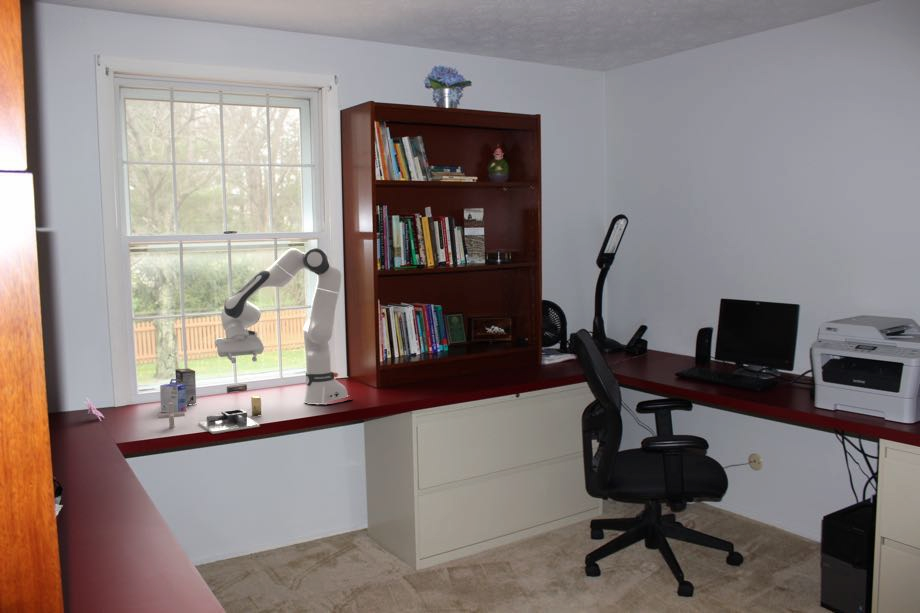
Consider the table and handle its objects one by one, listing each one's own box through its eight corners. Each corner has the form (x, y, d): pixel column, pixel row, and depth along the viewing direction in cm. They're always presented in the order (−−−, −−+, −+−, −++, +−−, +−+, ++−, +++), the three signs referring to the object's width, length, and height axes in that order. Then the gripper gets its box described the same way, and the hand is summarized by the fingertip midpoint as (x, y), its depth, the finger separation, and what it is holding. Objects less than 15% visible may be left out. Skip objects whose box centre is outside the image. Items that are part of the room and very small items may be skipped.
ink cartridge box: (187, 411, 330) (185, 379, 328) (178, 413, 324) (177, 381, 323) (169, 409, 333) (167, 378, 332) (160, 412, 328) (158, 380, 326)
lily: (89, 427, 306) (101, 406, 308) (66, 416, 307) (77, 394, 309) (104, 429, 317) (115, 409, 319) (81, 418, 319) (92, 397, 321)
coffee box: (176, 403, 346) (174, 369, 345) (190, 401, 350) (188, 367, 349) (182, 406, 339) (181, 372, 337) (196, 404, 343) (195, 370, 341)
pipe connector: (184, 423, 307) (183, 399, 306) (185, 428, 298) (184, 404, 297) (158, 425, 303) (157, 401, 302) (158, 431, 294) (157, 406, 293)
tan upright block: (259, 414, 322) (258, 396, 322) (262, 415, 319) (262, 397, 319) (250, 415, 320) (249, 397, 319) (253, 417, 317) (253, 398, 316)
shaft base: (243, 417, 315) (243, 407, 315) (259, 426, 300) (259, 415, 300) (198, 424, 304) (198, 413, 304) (212, 433, 289) (211, 422, 289)
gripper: (215, 334, 327) (222, 359, 320) (260, 331, 339) (268, 355, 332) (212, 343, 331) (219, 367, 324) (256, 340, 343) (264, 363, 336)
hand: (244, 361), depth 328 cm, fingers open, 8 cm apart
